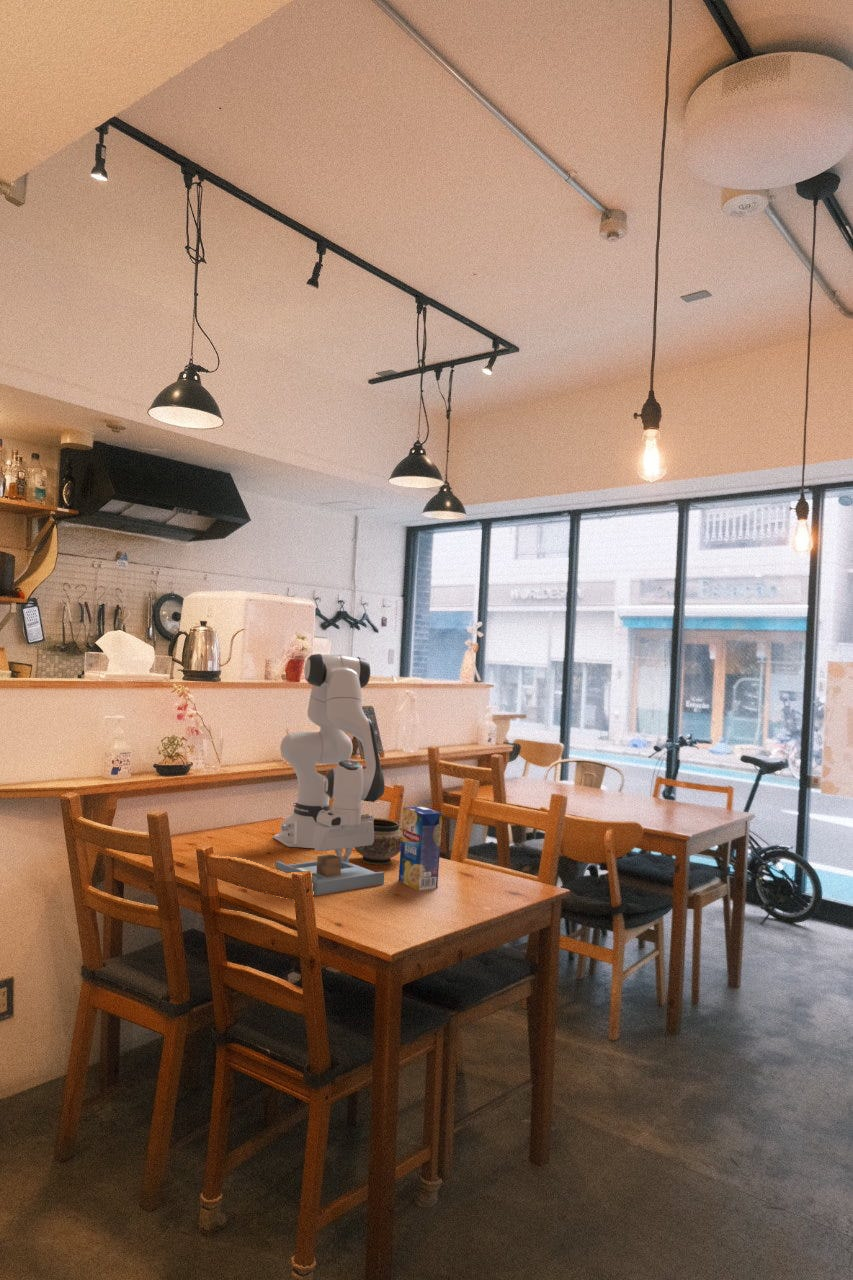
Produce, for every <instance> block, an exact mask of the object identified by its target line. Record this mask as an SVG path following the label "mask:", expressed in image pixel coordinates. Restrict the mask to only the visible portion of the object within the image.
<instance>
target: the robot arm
mask: <svg viewBox="0 0 853 1280" xmlns="http://www.w3.org/2000/svg"><path fill="white" fill-rule="evenodd" d="M303 668H304V670H303V674H304V678H305V681H306V682H307V683H308V684H309V685H312V686H311V688H310V689H311V691H310V696H309V701H308V708H307V717H308V719H309V720H310V722H312V724H314V725H316V726H318V727H320V729H319V731H318V732H317V731H315V732H314V731H313V732H309V731H299V732H292V733H287V734H286V735H285V736H284V737H283V738H282V741H281V743H280V748H279V749H280V753H281V756H282V758H283V760H285V762H286V763H287V764H289V765H290V767H292V769H293V771H294V772H295V775H296V778H297V802H294V803H293V805H292V806H293V807H294V809H293V813H291V814H290V815H289V816H288V817H287V818H286V819H284V820H283V821H282V823H281V828H280V833H276V834H274V835H273V839H275V840H276V841H278V842H279V843H281V844H283V845H284V846H286V847H290V848H303V849H304V848H305V849H315V850H316V851H318V852H327V851H334V853H335V854H336V855H335V856H338V857H340V858H341V863H348V862H350V861H349V859H350V857H351V855H352V853H353V849H354V847H360V846H367V845H372V844H373V842H374V826H373V824H374V818H375V817H374V816H373V815H371V814H369V813H366V814H362V810H363V806H362V805H363V804H362V801H363V802H371V803H375V802H376V801H378V800H379V799H380V798H381V797H382V796H383V795H385V789H386V783H385V778H384V774H383V770H382V766H381V760H380V754H379V749H378V744H377V743H378V742H377V739H376V738H377V737H376V732H375V728H374V724H373V722H372V720H371V719H370V718H369V717H367V716H366V714H365V713H364V710H363V703H362V688H365V687H366V686H367V685H368V683H369V681H370V678H371V665H370V663H369V661H368V660H367V659H365V658H362V657H359V656H357V657H356V656H350V655H345V654H321V653H316V654H315V653H314V654H311V655H309V657H307V660H306V661H305V664H304V667H303ZM347 734H349V735H351V736H354V737H355V738H356V739H357V740H358V741H360V743H361V745H362V750H363V755H364V761H365V768H363V765H362V763H360V762H358V761H357V760H356V761H355V760H349V759H350V758H351V757H352V754H353V751H354V750H353V749H354V745H353V742H352V739H351V738H350V736H349V735H347ZM324 764H325V765H335V764H336V767H335V768H331V770H329V771H328V772H327V773H326V774H325V775H323V774H321V773H320V772H318V770H317V765H324ZM330 799H333V801H332V803H330ZM343 850H345V851H344V854H342V853H343Z"/></svg>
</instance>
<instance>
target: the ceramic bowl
mask: <svg viewBox="0 0 853 1280" xmlns="http://www.w3.org/2000/svg"><path fill="white" fill-rule="evenodd" d="M373 818H374V824H373V826H374V842H373V844H372V845H367V846H360V847H353V849H354V850H355V851H356V852H357V853H359V855H361V856H362V859H361V860H362V862H364V863H365V864H371V865H378V864H379V865H387V864H390V863H391V861H392V860H391V859H392V858H393V857H396V856H397V855H398V854H399V853H400V851H401V836H402V826H400V823H398V822H397V821H395V820H391V819H387V818H379V817H373Z"/></svg>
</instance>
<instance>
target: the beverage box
mask: <svg viewBox="0 0 853 1280" xmlns="http://www.w3.org/2000/svg"><path fill="white" fill-rule="evenodd" d="M442 818H443V812H439V811H438V810H437V811H436V810H433V809H431V808H428V807H425V806H408V807H403V808H402V821H401V822H402V825H401V827H402V836H401V851H400V852H399V853H400V854H399V866H398V867H399V869H398V882H400V883H401V884H402V883H403V884H405V885H406V886H408V887H410V888H412V889H414V890H416V891H423V890H425V891H426V890H432V889H433V890H434V889H438V886H439V885H438V883H439V882H438V881H439V867H440V854H441V853H440V851H441V838H442V836H441V835H442V821H443V819H442Z"/></svg>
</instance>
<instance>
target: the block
mask: <svg viewBox="0 0 853 1280" xmlns="http://www.w3.org/2000/svg"><path fill="white" fill-rule="evenodd" d="M316 861H317V871H316V873H317V874H320V875H322V876H324V877H331V876H338V875H340V873H341V858H340V857H338V856H337V855H334V854H331V853H330V854H323V855H317V859H316Z"/></svg>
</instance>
